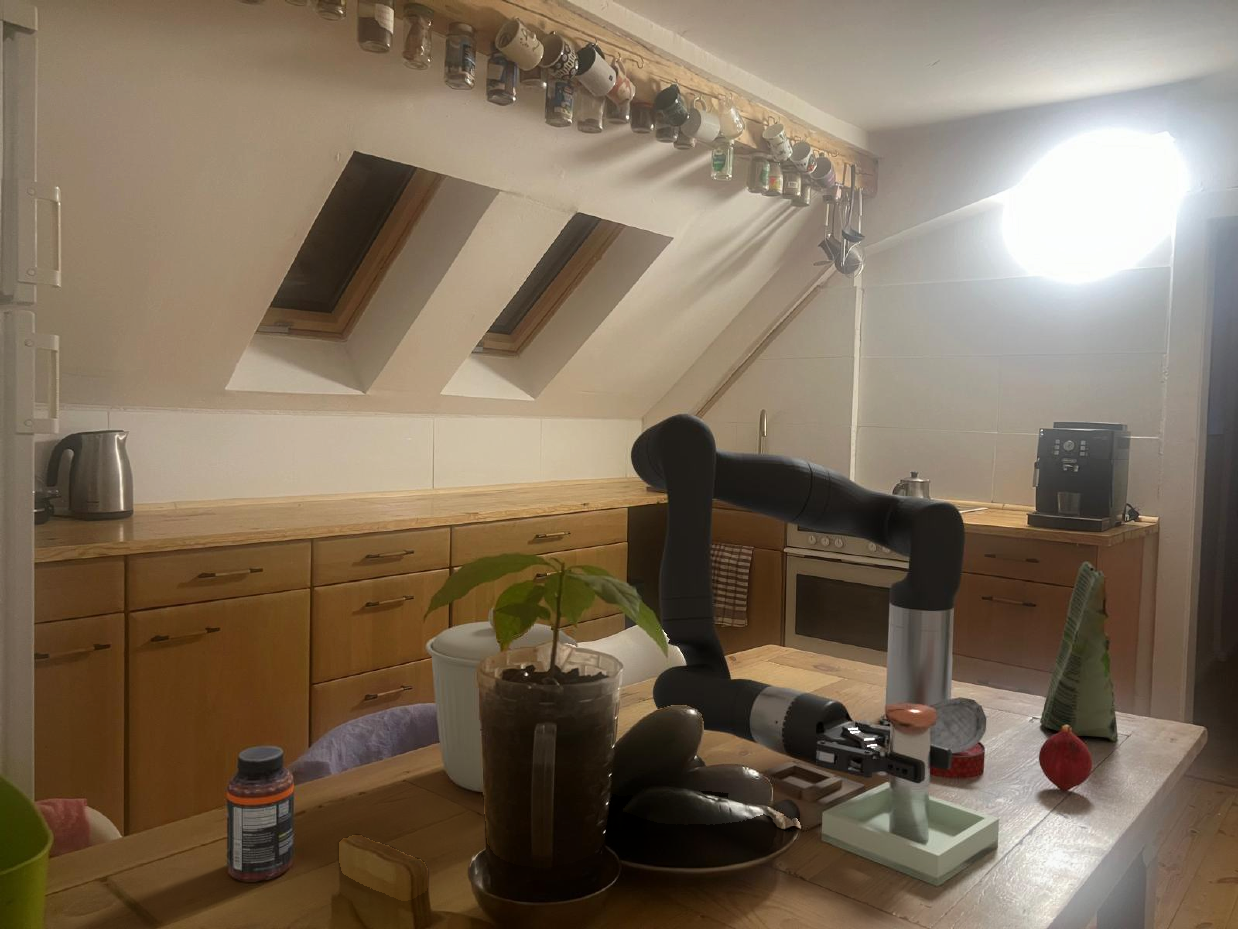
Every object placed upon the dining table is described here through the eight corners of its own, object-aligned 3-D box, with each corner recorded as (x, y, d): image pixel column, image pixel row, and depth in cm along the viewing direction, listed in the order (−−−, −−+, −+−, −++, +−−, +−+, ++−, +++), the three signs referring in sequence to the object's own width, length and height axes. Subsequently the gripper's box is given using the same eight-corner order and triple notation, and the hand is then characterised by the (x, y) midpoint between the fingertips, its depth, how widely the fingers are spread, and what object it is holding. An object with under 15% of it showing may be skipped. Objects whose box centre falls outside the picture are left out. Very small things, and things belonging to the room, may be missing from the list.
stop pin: (899, 821, 102) (900, 700, 102) (944, 835, 98) (945, 709, 98) (873, 834, 98) (875, 708, 98) (919, 849, 94) (920, 718, 94)
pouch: (1072, 716, 144) (1080, 555, 143) (1145, 741, 133) (1154, 566, 132) (1020, 725, 139) (1028, 558, 138) (1091, 751, 128) (1100, 570, 127)
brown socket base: (793, 777, 116) (794, 753, 116) (864, 802, 109) (865, 776, 108) (722, 805, 106) (723, 780, 106) (795, 835, 99) (796, 807, 99)
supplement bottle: (238, 855, 91) (239, 741, 91) (300, 854, 92) (301, 741, 91) (217, 885, 85) (218, 763, 85) (283, 884, 86) (285, 763, 85)
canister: (575, 752, 122) (579, 593, 121) (573, 809, 104) (578, 622, 103) (436, 751, 122) (439, 590, 121) (410, 808, 104) (413, 619, 103)
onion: (1096, 802, 110) (1099, 735, 110) (1044, 797, 111) (1047, 731, 111) (1082, 784, 116) (1085, 720, 116) (1032, 779, 117) (1035, 716, 117)
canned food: (983, 810, 119) (1006, 755, 114) (903, 797, 120) (923, 742, 114) (965, 743, 129) (987, 690, 123) (892, 731, 129) (910, 678, 124)
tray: (886, 807, 107) (887, 781, 107) (997, 846, 98) (999, 818, 98) (821, 840, 98) (822, 812, 98) (937, 886, 89) (938, 855, 89)
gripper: (762, 704, 103) (902, 745, 90) (835, 682, 113) (971, 716, 100) (759, 771, 103) (899, 821, 91) (833, 743, 113) (968, 785, 101)
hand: (936, 766), depth 96 cm, fingers open, 5 cm apart
